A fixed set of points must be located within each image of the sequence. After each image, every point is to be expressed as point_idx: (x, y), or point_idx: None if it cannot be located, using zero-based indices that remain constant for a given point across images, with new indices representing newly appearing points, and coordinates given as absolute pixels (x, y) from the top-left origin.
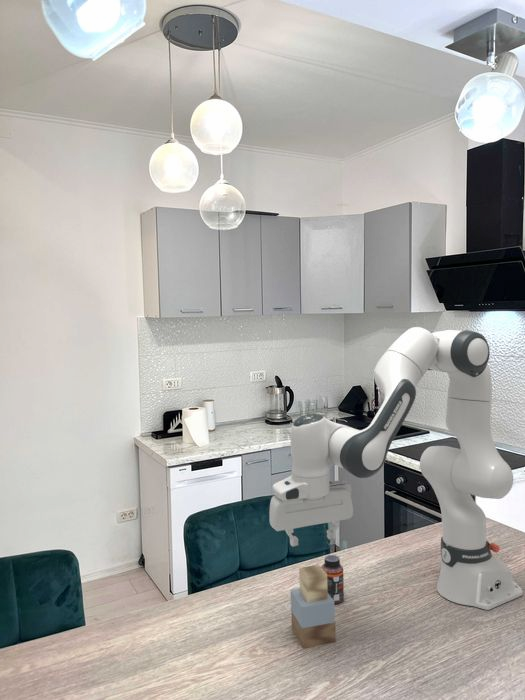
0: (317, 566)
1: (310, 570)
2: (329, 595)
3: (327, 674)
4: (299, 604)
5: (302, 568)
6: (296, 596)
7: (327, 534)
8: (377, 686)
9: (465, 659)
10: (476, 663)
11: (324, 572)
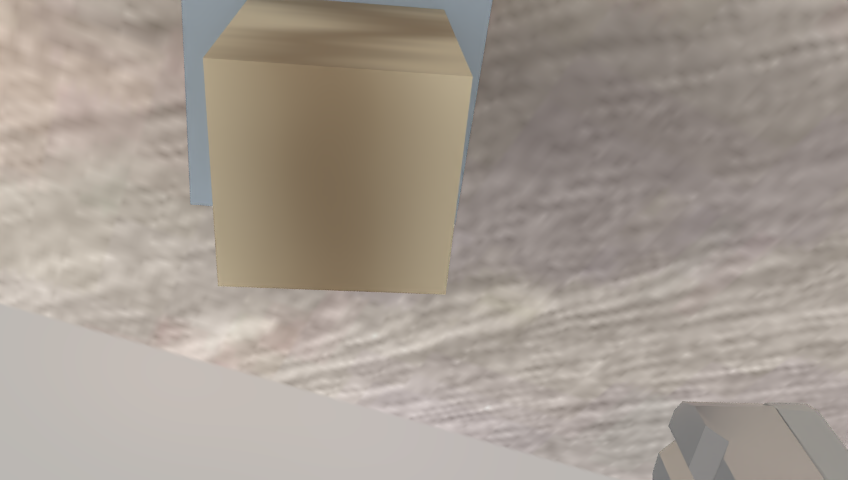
0: (435, 117)
1: (312, 170)
2: (466, 144)
3: (287, 289)
4: (189, 153)
5: (238, 88)
6: (197, 48)
7: (714, 447)
8: (437, 394)
9: (823, 389)
10: (832, 414)
11: (436, 260)
